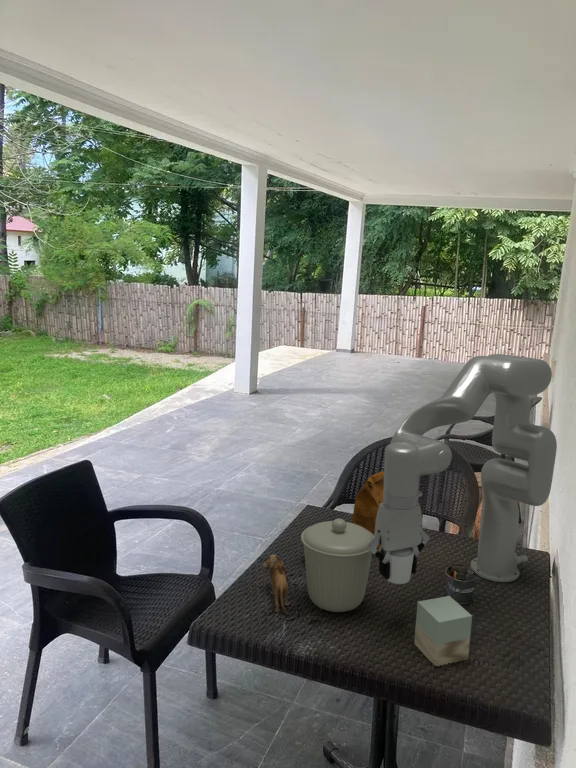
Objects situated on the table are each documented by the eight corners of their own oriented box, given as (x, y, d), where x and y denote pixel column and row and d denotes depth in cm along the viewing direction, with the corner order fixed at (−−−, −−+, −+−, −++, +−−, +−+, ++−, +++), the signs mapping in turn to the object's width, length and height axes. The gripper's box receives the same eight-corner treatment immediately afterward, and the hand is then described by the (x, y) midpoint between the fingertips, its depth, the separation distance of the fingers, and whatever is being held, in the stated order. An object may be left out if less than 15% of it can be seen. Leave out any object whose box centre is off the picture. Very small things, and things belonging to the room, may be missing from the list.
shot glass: (412, 587, 127) (414, 557, 125) (381, 583, 128) (382, 554, 127) (413, 571, 133) (414, 543, 132) (382, 568, 135) (383, 540, 133)
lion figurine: (261, 585, 147) (261, 553, 145) (281, 583, 149) (282, 550, 147) (277, 618, 133) (278, 582, 132) (299, 614, 135) (300, 579, 133)
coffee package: (395, 543, 173) (400, 473, 169) (376, 558, 163) (381, 484, 160) (366, 534, 179) (370, 466, 175) (346, 548, 169) (349, 476, 165)
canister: (319, 574, 153) (322, 499, 150) (383, 594, 144) (388, 515, 141) (285, 606, 138) (287, 523, 134) (354, 631, 129) (359, 543, 125)
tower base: (445, 637, 128) (447, 617, 127) (468, 659, 120) (470, 638, 120) (414, 644, 125) (415, 623, 124) (435, 667, 118) (437, 645, 117)
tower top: (447, 616, 127) (449, 595, 126) (470, 637, 120) (472, 615, 119) (416, 622, 124) (417, 601, 124) (437, 644, 117) (438, 622, 116)
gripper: (424, 487, 133) (421, 558, 137) (357, 498, 127) (355, 572, 131) (443, 499, 126) (439, 574, 130) (374, 511, 120) (371, 589, 124)
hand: (397, 572), depth 130 cm, fingers closed on shot glass, 6 cm apart
